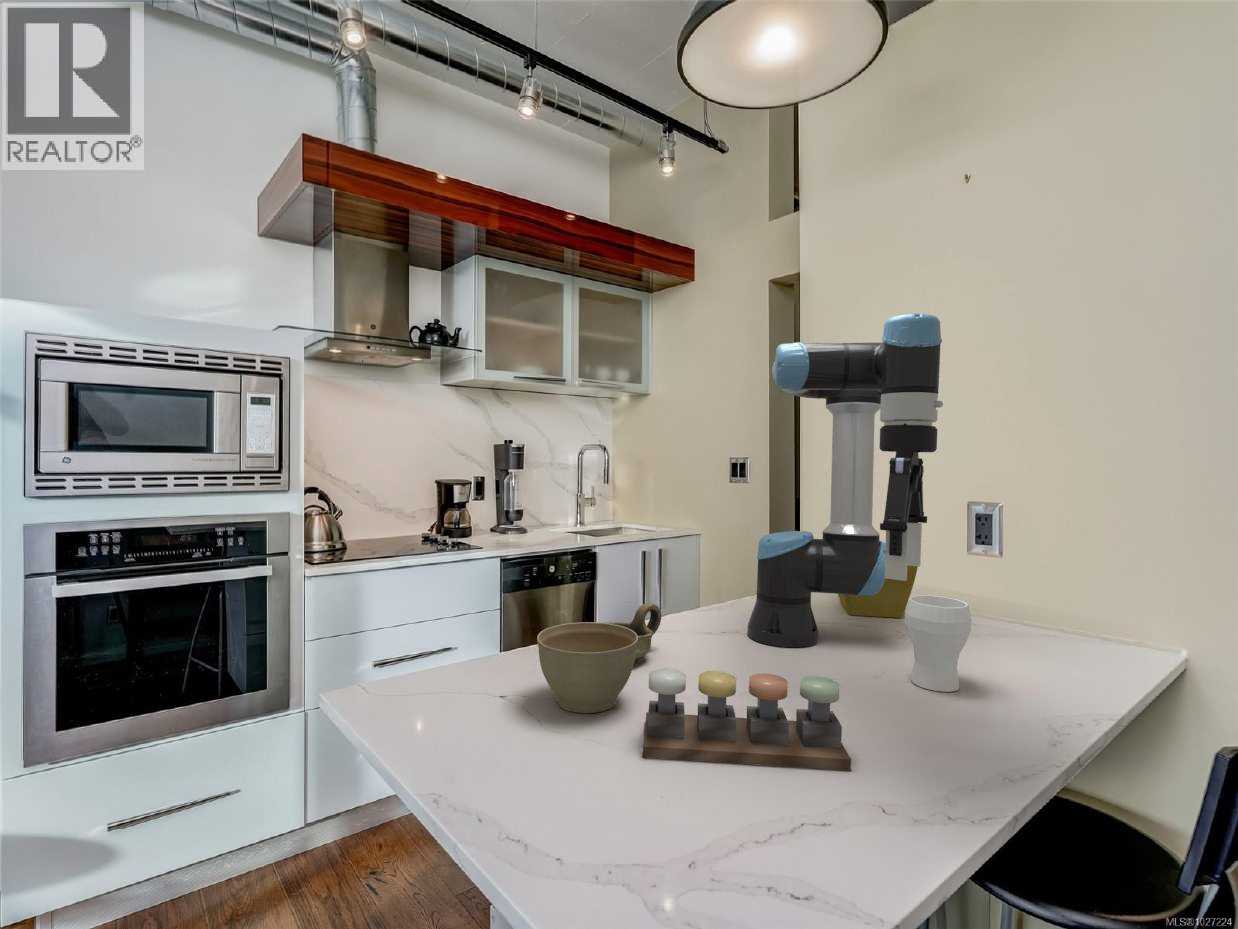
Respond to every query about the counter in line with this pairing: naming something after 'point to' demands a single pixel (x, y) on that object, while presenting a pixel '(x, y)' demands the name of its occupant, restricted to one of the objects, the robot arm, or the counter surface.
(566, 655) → the planter bowl
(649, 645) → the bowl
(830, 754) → the panel
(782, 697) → the terracotta button
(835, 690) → the sage button
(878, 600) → the flower pot
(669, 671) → the grey button
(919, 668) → the cup
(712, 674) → the ochre button
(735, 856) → the counter surface
